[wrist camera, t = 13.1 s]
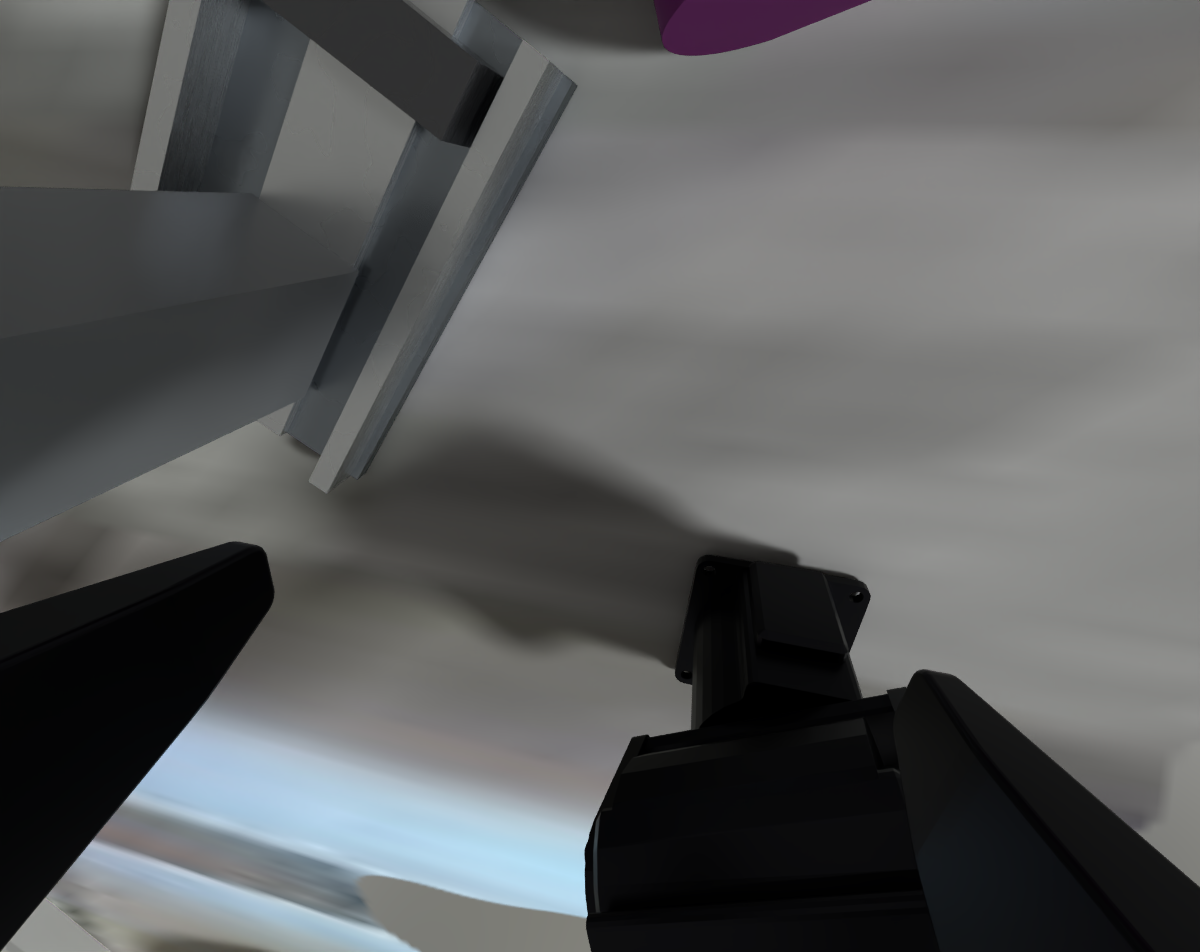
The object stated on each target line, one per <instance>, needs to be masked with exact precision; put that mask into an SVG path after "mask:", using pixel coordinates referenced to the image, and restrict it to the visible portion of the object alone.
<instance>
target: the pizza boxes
mask: <svg viewBox="0 0 1200 952" xmlns="http://www.w3.org/2000/svg"><path fill="white" fill-rule="evenodd" d="M1 952H111V951H110V950H108V949H107V948H106V947H105V946H104V945H102V944H101V943H100V942H99V941H98V940H96V939H95V938H94V937H93V936H92V935H90V934H89V933H88V932H87V931H86V930H84V929H83V928H82V927H81V926H79V925H78V924H77V923H76V922H75V921H73V920H72V919H71V918H70V917H69V916H67V915H66V914H65V913H64V912H63V911H61V910H60V909H59V908H58V907H56V906H55V905H54V904H53V903H52V902H50V901H49V900H48V899H47V898H46V897H45V898H44V900H43V901H42V902H41V903H40V905H39V906H38V907H37V908H36V909H35V911H34V912H33V913H32V914H31V915H30V917H29V918H28V919H27V920H26V922H25V923H24V924H23V925H22V926H21V928H20V929H19V930H18V931H17V933H16V934H15V935H14V936H13V937H12V939H11V940H10V941H9V942H8V943H7V945H6V946H5V947H4V948H3V950H2V951H1Z"/></svg>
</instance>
